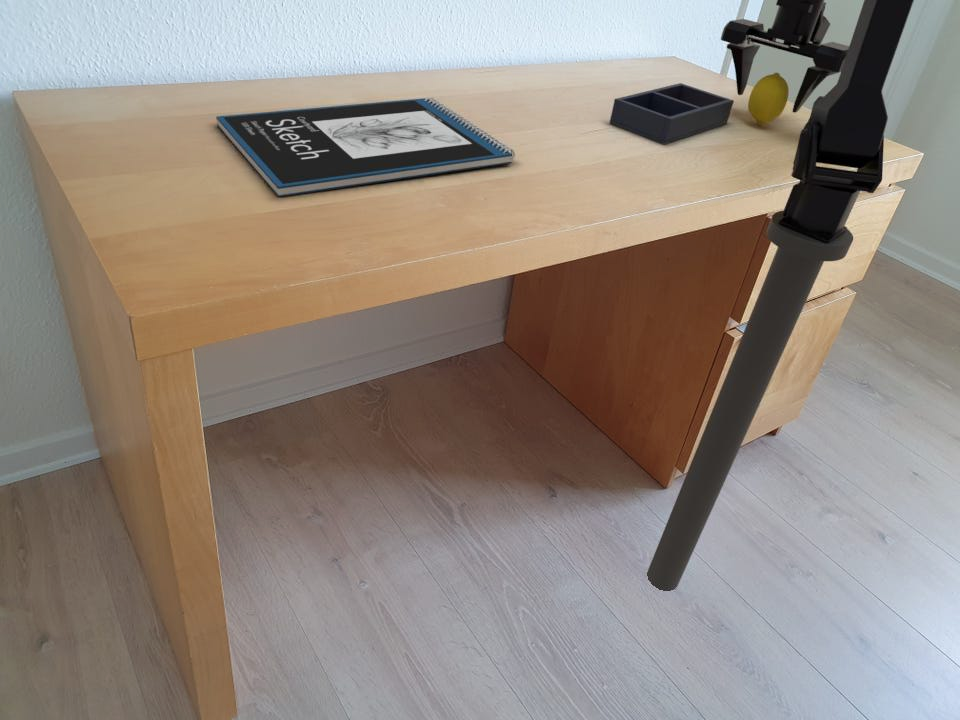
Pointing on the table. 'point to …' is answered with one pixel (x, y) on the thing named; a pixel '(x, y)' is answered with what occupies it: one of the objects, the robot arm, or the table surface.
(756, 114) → the lemon
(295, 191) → the sketchbook
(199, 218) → the table surface
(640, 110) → the holder
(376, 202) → the table surface
